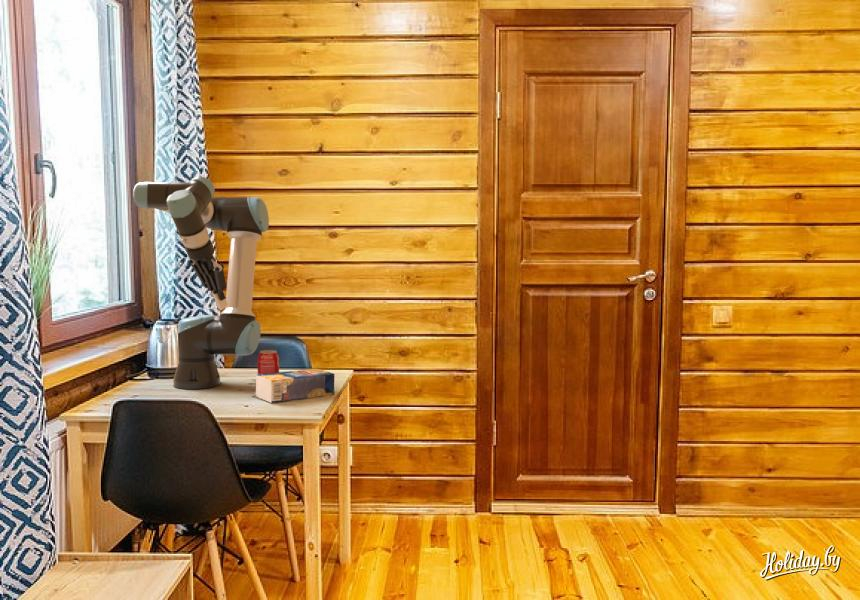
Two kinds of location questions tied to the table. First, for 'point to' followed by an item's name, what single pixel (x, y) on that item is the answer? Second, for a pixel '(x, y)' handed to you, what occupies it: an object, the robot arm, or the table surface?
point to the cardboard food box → (294, 385)
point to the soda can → (268, 362)
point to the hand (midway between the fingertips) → (223, 307)
